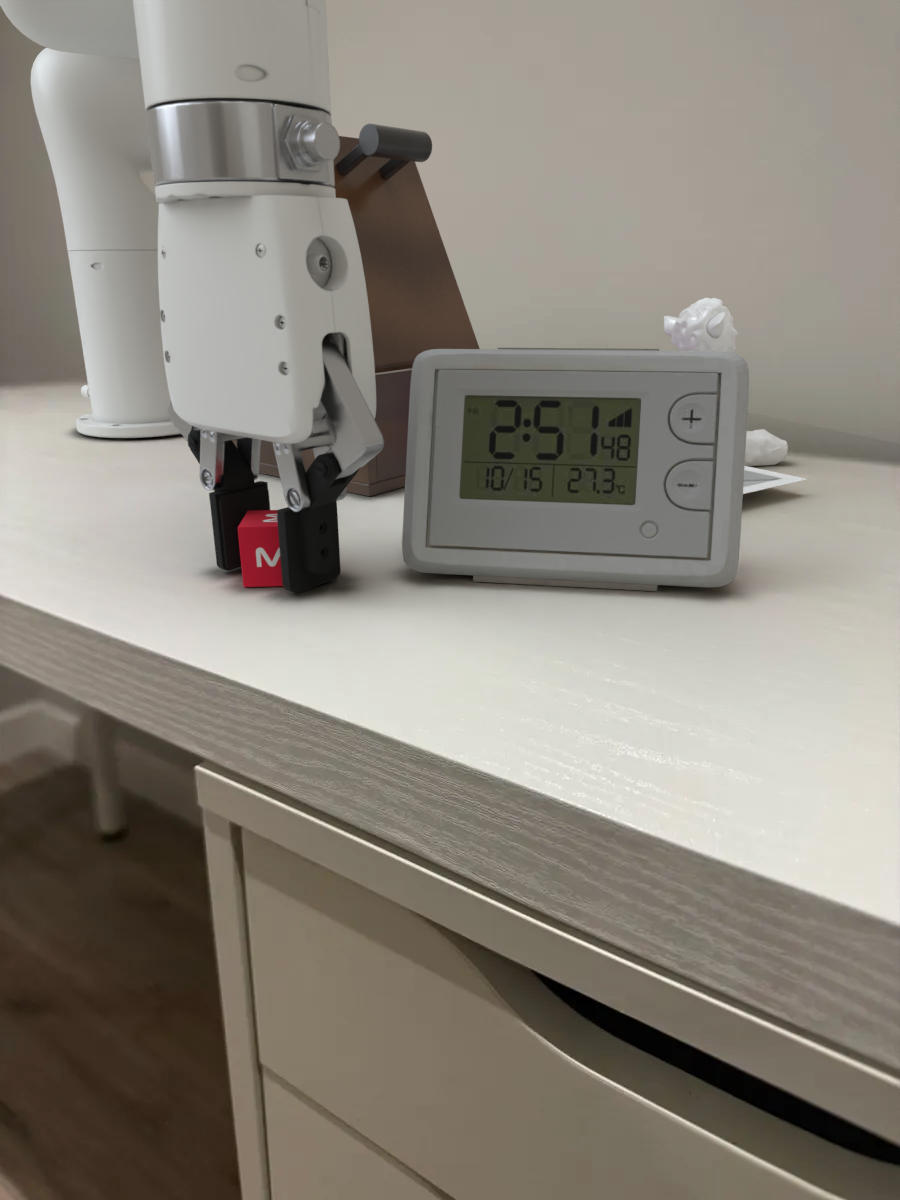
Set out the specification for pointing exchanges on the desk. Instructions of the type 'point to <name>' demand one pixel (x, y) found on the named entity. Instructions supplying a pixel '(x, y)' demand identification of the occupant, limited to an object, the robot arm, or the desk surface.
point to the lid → (400, 246)
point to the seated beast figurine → (714, 331)
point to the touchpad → (765, 479)
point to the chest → (393, 424)
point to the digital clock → (576, 466)
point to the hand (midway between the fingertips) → (278, 569)
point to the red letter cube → (260, 549)
